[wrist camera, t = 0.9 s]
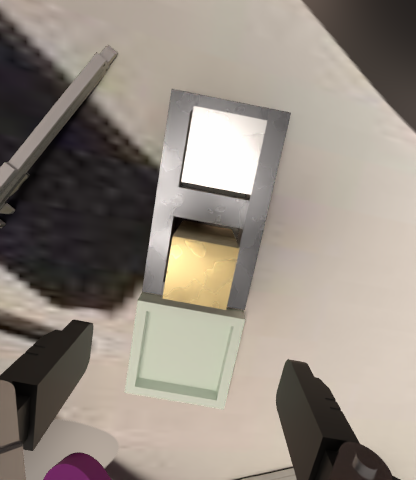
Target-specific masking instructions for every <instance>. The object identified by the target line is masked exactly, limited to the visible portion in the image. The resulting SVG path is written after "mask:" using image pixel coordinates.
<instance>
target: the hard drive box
mask: <svg viewBox="0 0 416 480" xmlns="http://www.w3.org/2000/svg"><path fill="white" fill-rule="evenodd" d="M241 480H297V479H296V475H295V471H294V468H290V469H286V470H282V471H277V472H273V473H268V474H264V475H260V476H252V477H249V478H244V479H241Z"/></svg>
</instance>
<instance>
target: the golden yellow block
mask: <svg viewBox="0 0 416 480" xmlns="http://www.w3.org/2000/svg"><path fill="white" fill-rule="evenodd" d="M238 253H239V246H238V244H237V241H236V239H235V236H234V234H233V231H232V229H228V228H222V227H217V226H212V225H206V224H201V223H196V222H190V221H185V220H183V221H182V223H181V224H180V226H179V227H178V229H177V230H176V232H175V233H174V235H173V237H172V243H171V249H170V255H169V261H168V267H167V273H166V280H165V286H164V292H163V298H162V299H167V300H173V301H178V302H184V303H190V304H195V305H201V306H206V307H212V308H218V309H223V310H226V308H227V303H228V299H229V294H230V290H231V285H232V280H233V276H234V271H235V267H236V262H237V258H238Z"/></svg>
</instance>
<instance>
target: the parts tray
mask: <svg viewBox="0 0 416 480" xmlns="http://www.w3.org/2000/svg"><path fill="white" fill-rule="evenodd" d="M162 298H163V296H160V295H154V294H149V293H143V292H142V294H141V296H140V297H139V299H138V301H137V308H136V315H135V322H134V329H133V336H132V343H131V350H130V358H129V365H128V372H127V379H126V386H125V393H128V394H134V395H140V396H146V397H152V398H158V399H164V400H170V401H176V402H182V403H188V404H193V405H199V406H205V407H211V408H217V409H223V410H224V407H225V403H226V399H227V394H228V390H229V386H230V382H231V377H232V373H233V369H234V365H235V361H236V356H237V352H238V348H239V344H240V340H241V335H242V331H243V327H244V323H245V316H244V312H243V310H238V309H232V308H226V310H223V309H218V308H212V307H206V306H201V305H195V304H190V303H184V302H178V301H173V300H167V299H162Z"/></svg>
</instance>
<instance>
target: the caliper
mask: <svg viewBox="0 0 416 480" xmlns="http://www.w3.org/2000/svg"><path fill="white" fill-rule="evenodd" d="M117 54H118V53H117V52H116V51H115V50H114V49H113V48H111V47H110V46H109V45H108V46H106V47H105V48H104V49H103V50H102V52H101V53H100V54H98V53H97V52H96V54H95V55H94V56H93V57H92V59H91V60H90V61H89V62H88V64H87V65H86V66H85V67H84V69H83V70H82V71H81V72H80V74H79V75H78V76H77V77H76V79H75V80H74V81H73V82H72V84H71V85H70V86H69V87H68V88H67V90H66V91H65V92H64V93H63V95H62V96H61V97H60V98H59V100H58V101H57V102H56V103H55V105H54V106H53V107H52V108H51V110H50V111H49V112H48V113H47V115H46V116H45V117H44V118H43V120H42V121H41V122H40V123H39V125H38V126H37V127H36V128H35V130H34V131H33V132H32V133H31V135H30V136H29V137H28V138H27V140H26V141H25V142H24V143H23V145H22V146H21V147H20V148H19V150H18V151H17V152H16V153H15V155H14V156H13V157H12V158H11V160H10V161H9V162H4V164H3V165H2V166H1V167H0V213H3V214H13V213H14V211H15V209H14V208H12V207H11V206H10V205H9V204H8V203H7V202H6V201H7V200H8V198H9V197H10V196H12V195H13V194H14V193H15V192H16V191H17V190H18V189H20V187H21V186H22V184H23V183H24V181H26V180H27V179H28V178H29V176H30V174H28V173H27V172H28V170H29V169H30V168H31V167H32V165H33V164H34V163H35V162H36V160H37V159H38V158H39V157H40V155H41V154H42V153H43V152H44V150H45V149H46V148H47V147H48V145H49V144H50V143H51V142H52V140H53V139H54V138H55V137H56V135H57V134H58V133H59V132H60V130H61V129H62V128H63V127H64V125H65V124H66V123H67V122H68V120H69V119H70V118H71V117H72V115H73V114H74V113H75V112H76V111H77V109H78V108H79V107H80V106H81V104H82V103H83V102H84V101H85V99H86V98H87V97H88V96H89V94H90V93H91V92H92V91H93V89H94V88H95V87H96V86H97V85H98V83H99V82H100V81H101V79H102V78H103V76H104V75H105V73H106V72H107V70H108V69H109V65H110V64H111V62H112V61H113V60H114V59H115V57H116V56H117ZM5 225H6V223H5V222H3V221H2V220H0V228H2V227H3V226H5Z"/></svg>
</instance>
